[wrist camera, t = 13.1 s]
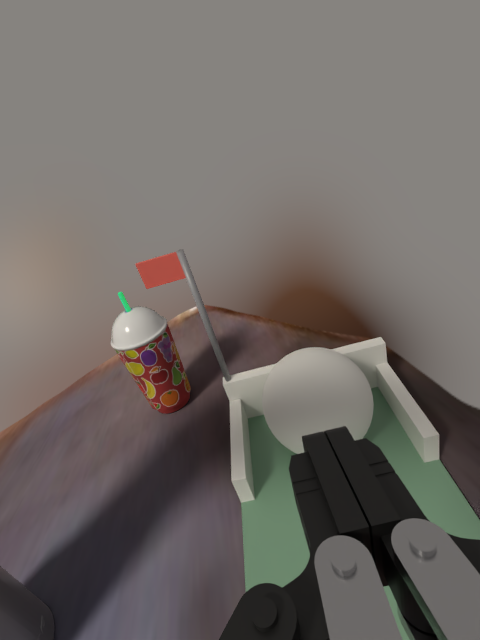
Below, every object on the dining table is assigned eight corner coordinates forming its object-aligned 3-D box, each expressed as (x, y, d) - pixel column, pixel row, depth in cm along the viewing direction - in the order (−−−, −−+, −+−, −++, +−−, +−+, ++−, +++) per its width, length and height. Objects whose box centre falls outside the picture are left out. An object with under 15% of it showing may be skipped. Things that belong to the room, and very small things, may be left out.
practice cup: (193, 739, 23) (-52, 543, 12) (208, 421, 49) (137, 261, 38) (583, 679, 21) (762, 360, 9) (384, 378, 47) (366, 194, 35)
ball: (243, 355, 35) (259, 365, 46) (271, 481, 32) (280, 458, 43) (362, 326, 33) (347, 344, 45) (403, 455, 30) (376, 438, 42)
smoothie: (165, 383, 61) (115, 282, 51) (206, 383, 57) (160, 275, 48) (139, 419, 54) (76, 311, 45) (183, 422, 51) (125, 306, 41)
